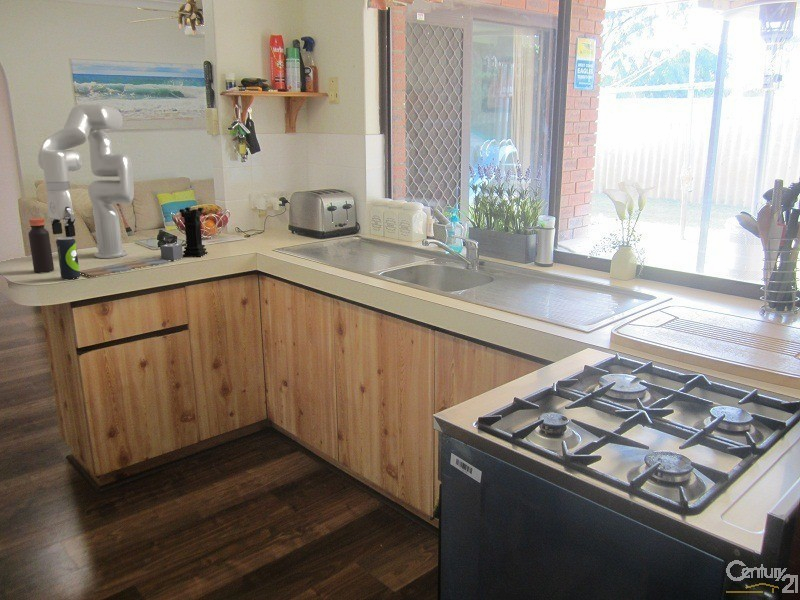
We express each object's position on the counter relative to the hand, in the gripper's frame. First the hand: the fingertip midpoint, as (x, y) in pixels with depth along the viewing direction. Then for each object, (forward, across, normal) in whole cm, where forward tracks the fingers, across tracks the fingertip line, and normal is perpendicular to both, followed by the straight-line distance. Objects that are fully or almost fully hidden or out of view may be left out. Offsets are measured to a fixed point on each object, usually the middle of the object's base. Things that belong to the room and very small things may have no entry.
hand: (64, 235), depth 231 cm
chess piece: (+15, -1, +54) cm, 56 cm away
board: (+16, -1, +22) cm, 27 cm away
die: (+15, -1, +43) cm, 45 cm away
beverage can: (+16, -1, +1) cm, 16 cm away
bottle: (+16, -20, 0) cm, 25 cm away
